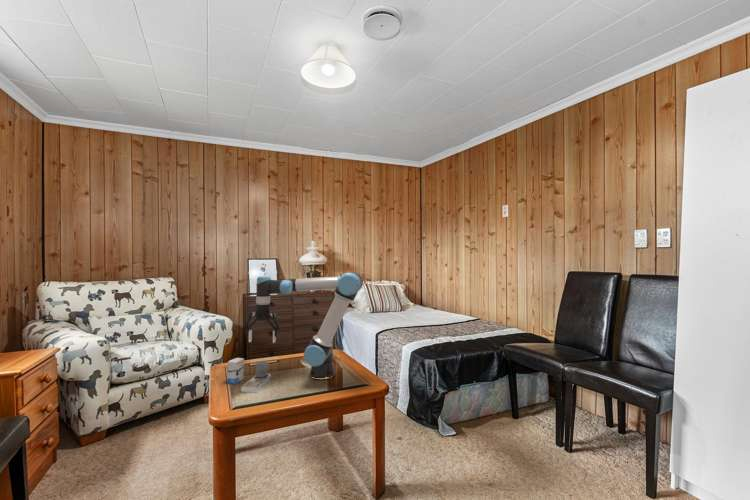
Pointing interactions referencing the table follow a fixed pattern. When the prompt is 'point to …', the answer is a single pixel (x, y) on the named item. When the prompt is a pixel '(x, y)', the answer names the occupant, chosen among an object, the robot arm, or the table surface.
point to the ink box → (235, 370)
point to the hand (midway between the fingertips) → (262, 342)
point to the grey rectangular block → (261, 369)
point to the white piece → (255, 384)
